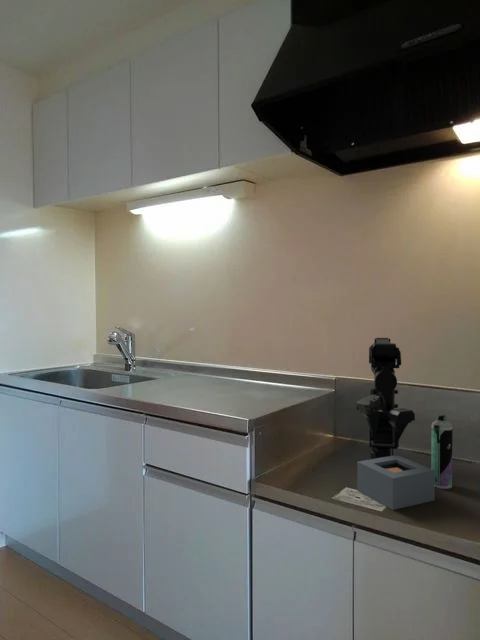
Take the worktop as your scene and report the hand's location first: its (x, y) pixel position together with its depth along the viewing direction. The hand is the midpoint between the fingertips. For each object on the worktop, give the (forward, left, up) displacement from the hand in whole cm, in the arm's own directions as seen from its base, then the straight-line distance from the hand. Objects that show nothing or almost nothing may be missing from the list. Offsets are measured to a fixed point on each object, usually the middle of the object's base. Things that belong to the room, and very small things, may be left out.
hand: (384, 439), depth 139 cm
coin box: (+5, +10, -12) cm, 16 cm away
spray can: (-12, +10, -12) cm, 20 cm away
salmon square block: (+5, +10, -8) cm, 14 cm away
